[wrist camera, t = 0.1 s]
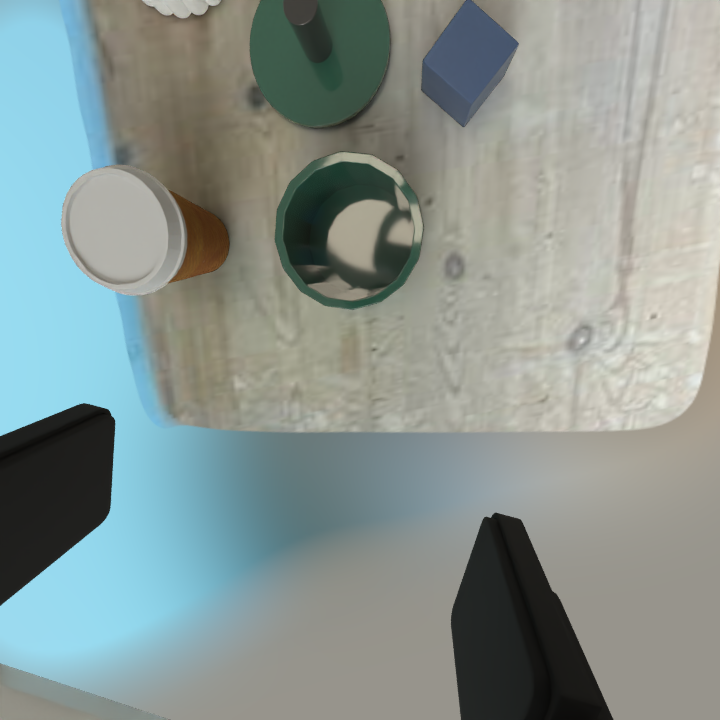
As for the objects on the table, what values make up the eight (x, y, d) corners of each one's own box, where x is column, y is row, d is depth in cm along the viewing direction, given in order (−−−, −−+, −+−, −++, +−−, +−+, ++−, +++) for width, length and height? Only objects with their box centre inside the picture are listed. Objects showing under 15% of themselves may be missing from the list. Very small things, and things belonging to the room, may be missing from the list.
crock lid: (331, -67, 33) (311, -151, 26) (419, 61, 34) (420, 11, 27) (228, 46, 36) (186, -4, 29) (311, 160, 37) (290, 136, 30)
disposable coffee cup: (217, 306, 41) (141, 321, 30) (143, 254, 41) (37, 249, 30) (261, 228, 39) (196, 210, 27) (182, 172, 39) (83, 131, 27)
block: (420, 90, 34) (422, 60, 29) (460, 36, 33) (468, -4, 28) (463, 127, 34) (471, 104, 30) (504, 75, 33) (519, 43, 28)
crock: (372, 151, 36) (360, 116, 28) (444, 251, 37) (453, 246, 29) (281, 231, 39) (246, 221, 30) (351, 322, 40) (335, 336, 32)
